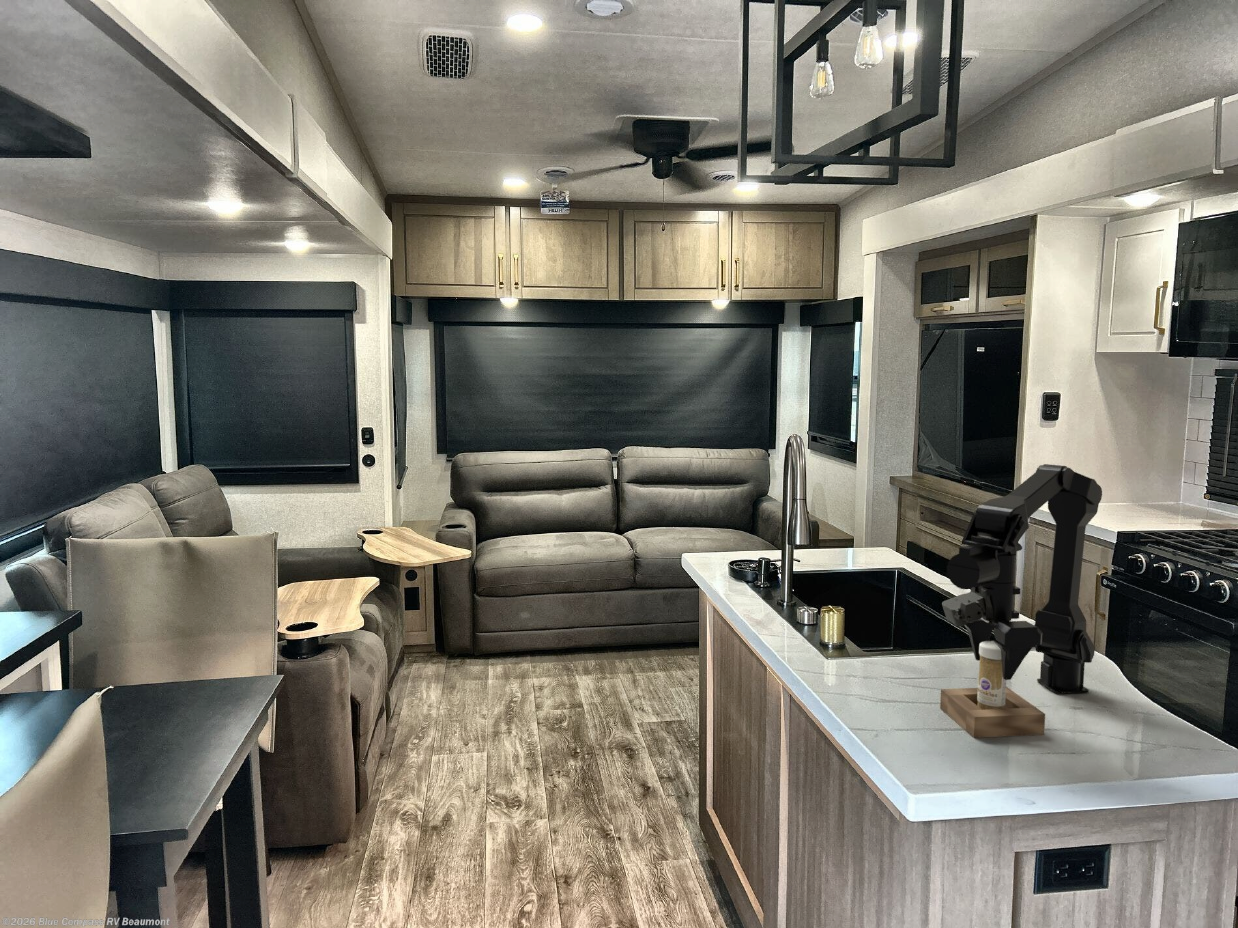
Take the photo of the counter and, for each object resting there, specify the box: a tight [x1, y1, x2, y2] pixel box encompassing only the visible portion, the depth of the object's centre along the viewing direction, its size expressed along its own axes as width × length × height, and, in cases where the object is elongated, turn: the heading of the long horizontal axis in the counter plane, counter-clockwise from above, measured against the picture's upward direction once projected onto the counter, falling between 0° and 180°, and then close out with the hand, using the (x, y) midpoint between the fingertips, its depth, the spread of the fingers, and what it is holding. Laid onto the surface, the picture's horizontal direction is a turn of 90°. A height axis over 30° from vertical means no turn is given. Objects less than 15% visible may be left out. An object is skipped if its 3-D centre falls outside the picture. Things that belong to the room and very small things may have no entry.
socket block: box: [939, 686, 1046, 738], centre depth 146 cm, size 12×12×4 cm
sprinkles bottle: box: [977, 640, 1007, 710], centre depth 146 cm, size 5×5×14 cm
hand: (992, 669), depth 145 cm, fingers open, 9 cm apart
